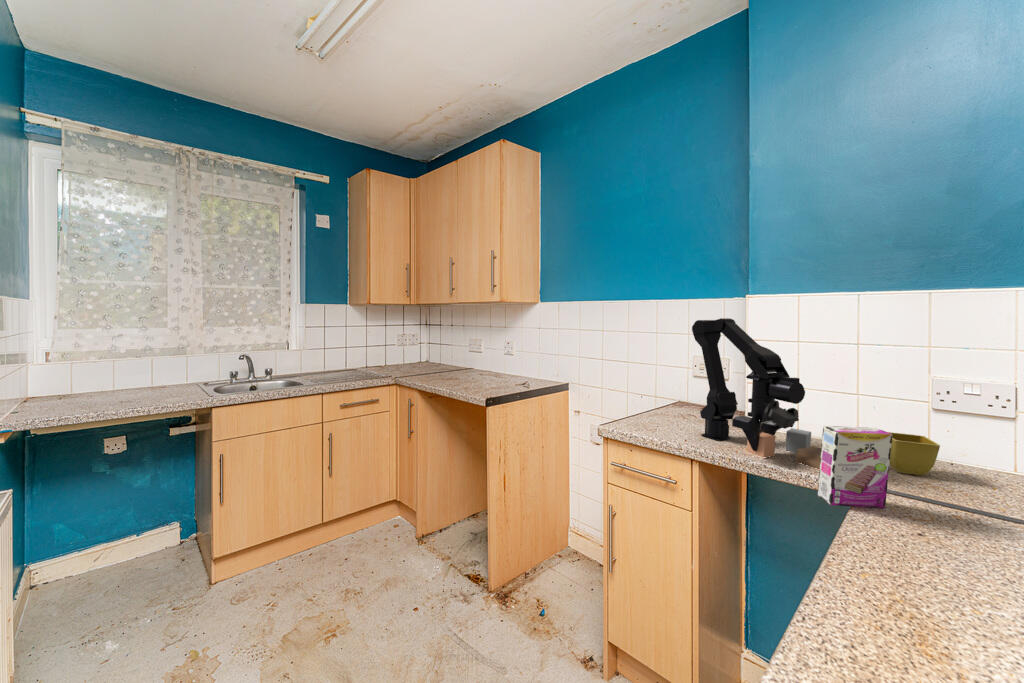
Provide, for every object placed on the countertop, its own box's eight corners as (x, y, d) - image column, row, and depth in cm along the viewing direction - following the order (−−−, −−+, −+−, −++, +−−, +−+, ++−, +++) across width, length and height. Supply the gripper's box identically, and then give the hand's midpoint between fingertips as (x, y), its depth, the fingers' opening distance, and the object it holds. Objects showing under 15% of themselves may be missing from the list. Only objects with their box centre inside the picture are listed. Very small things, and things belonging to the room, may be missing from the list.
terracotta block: (746, 453, 123) (747, 433, 122) (757, 451, 125) (758, 431, 124) (763, 458, 118) (764, 438, 118) (774, 456, 120) (775, 435, 120)
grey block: (785, 451, 125) (786, 431, 124) (790, 447, 128) (791, 428, 128) (805, 455, 121) (806, 435, 121) (810, 451, 125) (811, 431, 124)
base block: (796, 463, 116) (796, 449, 115) (812, 459, 118) (813, 446, 118) (822, 472, 109) (823, 457, 109) (839, 468, 112) (840, 454, 111)
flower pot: (921, 468, 111) (924, 435, 111) (938, 480, 103) (941, 445, 103) (879, 463, 115) (881, 431, 114) (892, 474, 107) (894, 440, 106)
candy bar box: (831, 506, 89) (836, 431, 88) (816, 496, 94) (821, 425, 93) (888, 509, 88) (893, 433, 87) (870, 498, 93) (875, 426, 92)
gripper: (771, 405, 109) (768, 463, 110) (812, 398, 117) (809, 453, 118) (732, 397, 119) (729, 451, 120) (772, 391, 127) (770, 442, 128)
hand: (760, 449), depth 121 cm, fingers open, 5 cm apart
